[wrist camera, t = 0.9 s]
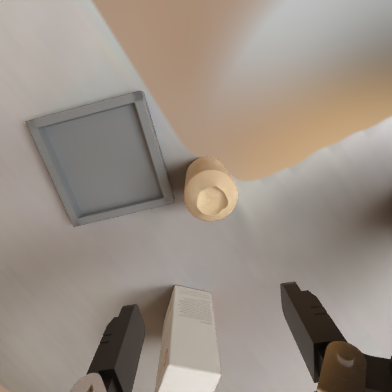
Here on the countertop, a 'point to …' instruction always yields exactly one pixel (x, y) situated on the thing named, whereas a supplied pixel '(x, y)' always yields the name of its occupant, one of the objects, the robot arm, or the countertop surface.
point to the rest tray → (104, 158)
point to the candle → (209, 190)
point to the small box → (189, 344)
